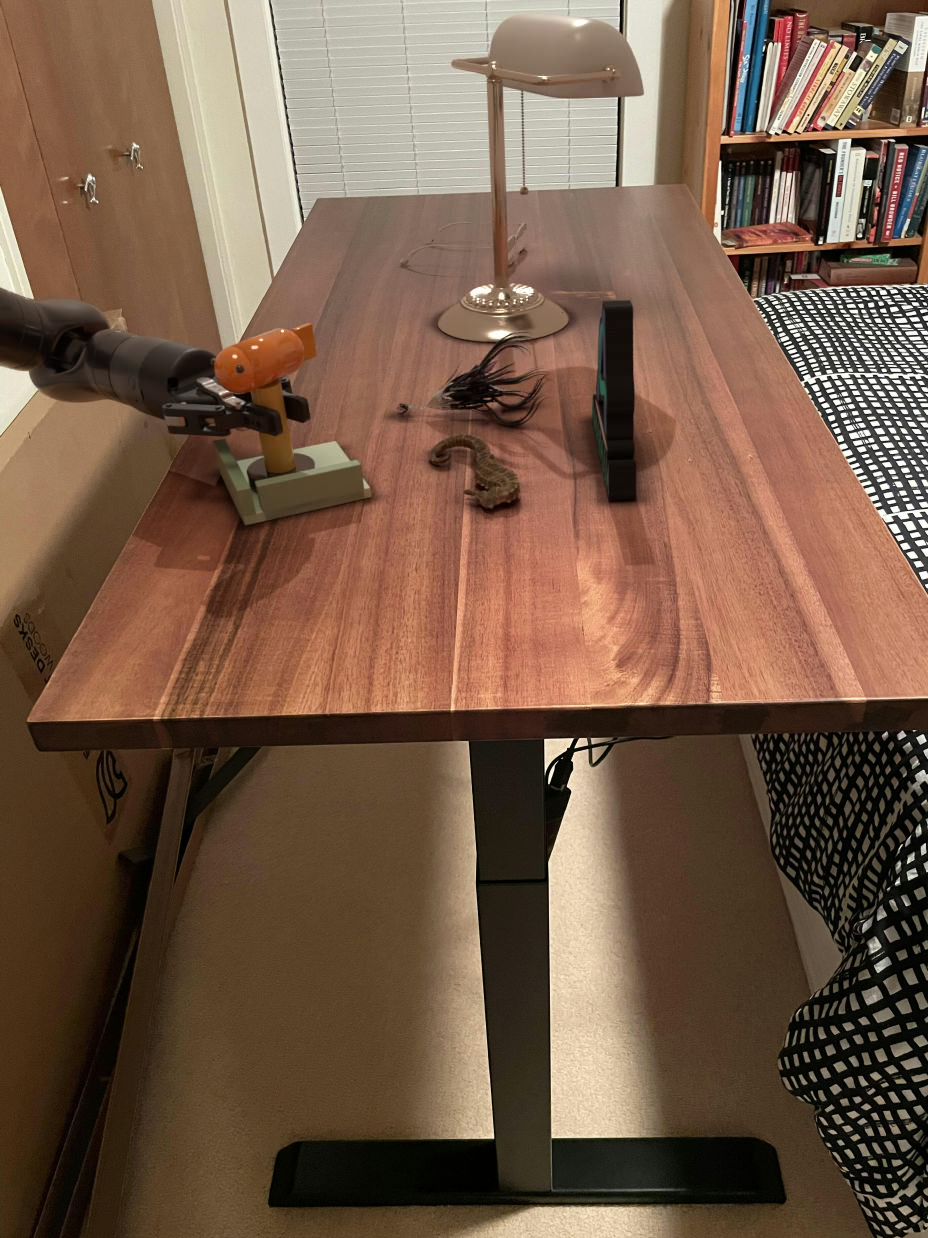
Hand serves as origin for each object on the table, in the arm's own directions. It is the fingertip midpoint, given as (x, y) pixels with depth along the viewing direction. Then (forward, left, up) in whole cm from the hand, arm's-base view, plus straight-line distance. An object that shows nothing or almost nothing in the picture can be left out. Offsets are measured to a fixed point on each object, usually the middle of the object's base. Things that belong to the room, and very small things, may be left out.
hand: (292, 417), depth 86 cm
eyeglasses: (+45, +73, -8) cm, 86 cm away
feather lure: (+22, +10, -8) cm, 25 cm away
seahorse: (+16, -4, -8) cm, 18 cm away
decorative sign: (+30, -6, -8) cm, 31 cm away
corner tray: (0, +3, -8) cm, 9 cm away
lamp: (+41, +39, -8) cm, 57 cm away
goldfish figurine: (-1, +2, -7) cm, 8 cm away
